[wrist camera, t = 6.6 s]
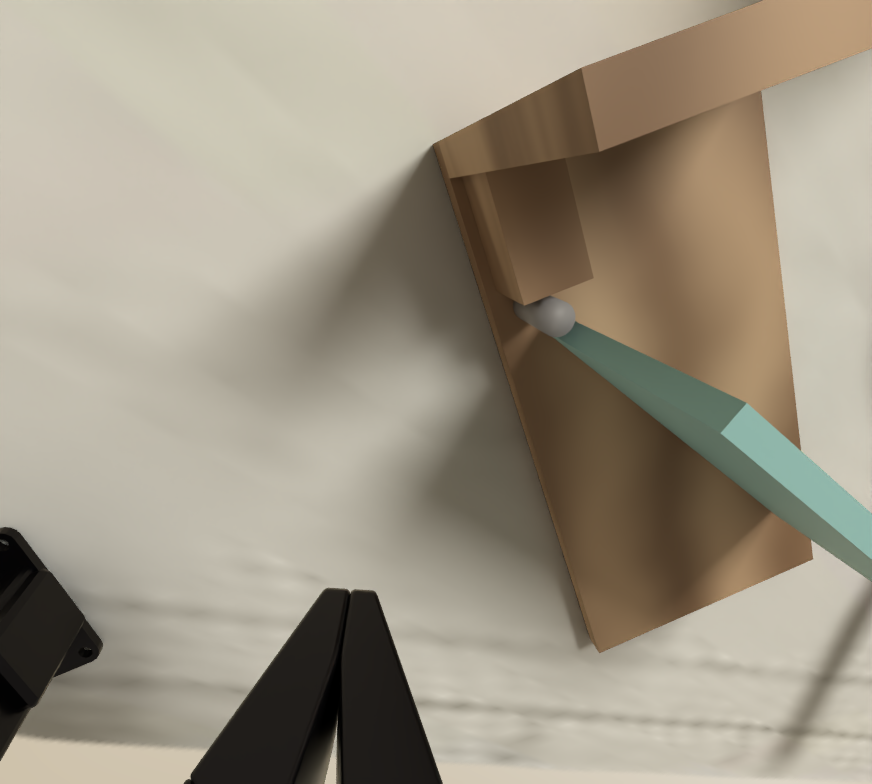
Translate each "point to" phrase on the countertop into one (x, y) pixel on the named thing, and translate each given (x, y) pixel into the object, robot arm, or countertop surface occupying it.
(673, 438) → the cabinet base
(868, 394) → the countertop surface
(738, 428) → the door
